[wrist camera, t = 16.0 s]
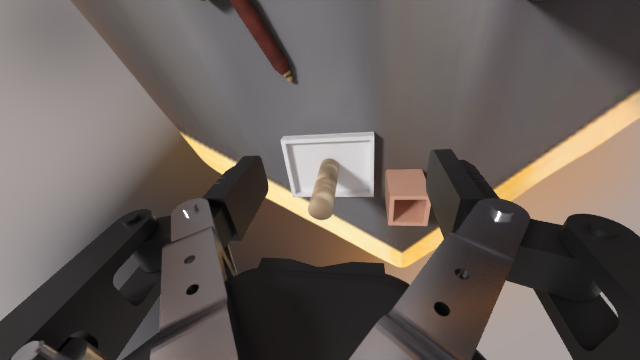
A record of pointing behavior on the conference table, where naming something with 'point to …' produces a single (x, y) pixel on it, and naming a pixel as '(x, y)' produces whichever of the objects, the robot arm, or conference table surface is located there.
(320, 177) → the dowel pin
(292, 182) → the tray
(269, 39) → the gavel
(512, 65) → the conference table surface
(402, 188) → the pink open-ended box
